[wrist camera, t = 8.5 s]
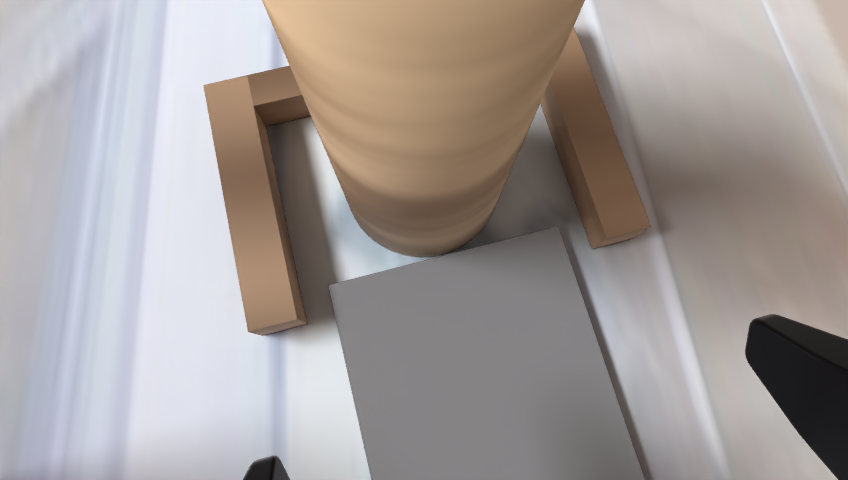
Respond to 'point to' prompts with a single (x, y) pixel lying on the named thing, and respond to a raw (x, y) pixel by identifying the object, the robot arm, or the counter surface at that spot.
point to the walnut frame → (282, 101)
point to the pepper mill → (422, 103)
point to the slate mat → (482, 369)
